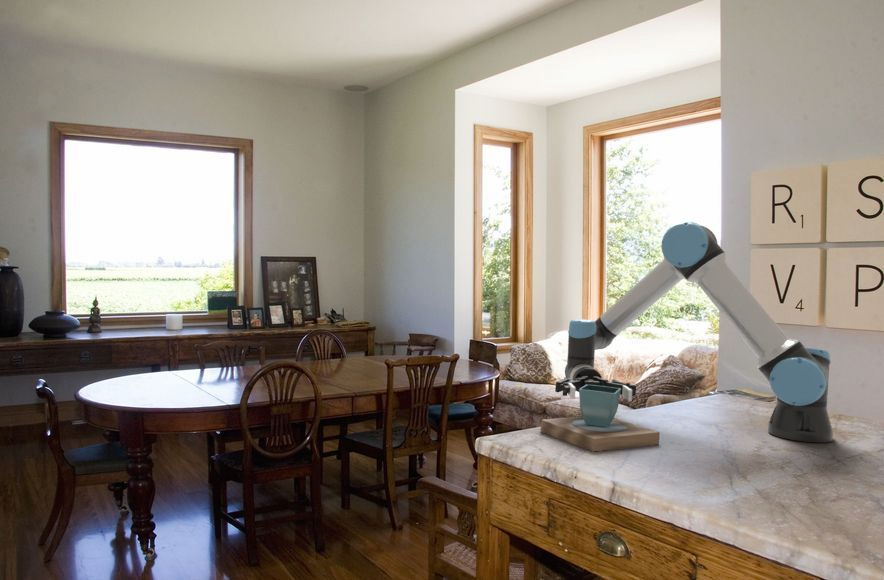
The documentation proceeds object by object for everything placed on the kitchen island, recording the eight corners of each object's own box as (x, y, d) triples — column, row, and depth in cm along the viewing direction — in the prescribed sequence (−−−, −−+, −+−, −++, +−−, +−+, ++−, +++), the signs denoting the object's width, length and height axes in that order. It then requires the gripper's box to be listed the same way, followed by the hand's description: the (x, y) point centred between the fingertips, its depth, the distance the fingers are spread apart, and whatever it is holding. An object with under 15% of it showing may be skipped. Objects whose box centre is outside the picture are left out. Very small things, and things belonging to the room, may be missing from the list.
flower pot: (619, 423, 172) (621, 387, 172) (613, 430, 164) (615, 393, 164) (584, 419, 176) (586, 383, 175) (576, 426, 168) (578, 389, 167)
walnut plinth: (658, 444, 166) (659, 431, 166) (593, 452, 156) (594, 438, 156) (602, 425, 183) (603, 413, 183) (540, 431, 174) (541, 418, 174)
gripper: (631, 395, 189) (653, 412, 167) (539, 391, 189) (549, 407, 168) (633, 368, 188) (654, 381, 167) (540, 364, 189) (550, 376, 168)
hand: (602, 394), depth 168 cm, fingers open, 13 cm apart
